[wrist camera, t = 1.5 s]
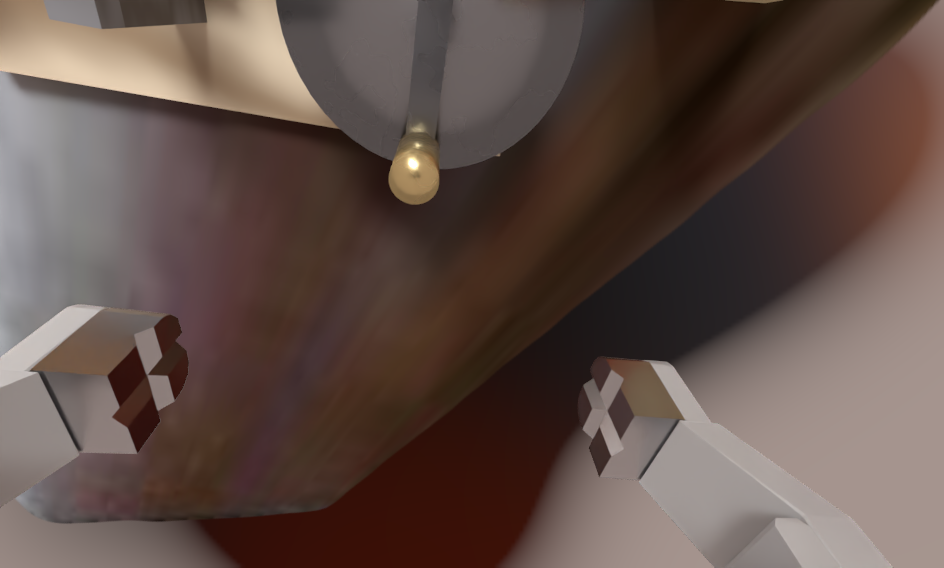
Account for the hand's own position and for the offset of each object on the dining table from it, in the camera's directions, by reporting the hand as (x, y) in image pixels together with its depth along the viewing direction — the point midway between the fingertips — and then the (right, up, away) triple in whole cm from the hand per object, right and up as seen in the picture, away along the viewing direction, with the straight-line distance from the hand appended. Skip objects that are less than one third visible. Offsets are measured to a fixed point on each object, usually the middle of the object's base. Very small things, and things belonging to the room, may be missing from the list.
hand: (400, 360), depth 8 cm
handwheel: (-1, +15, +13) cm, 20 cm away
